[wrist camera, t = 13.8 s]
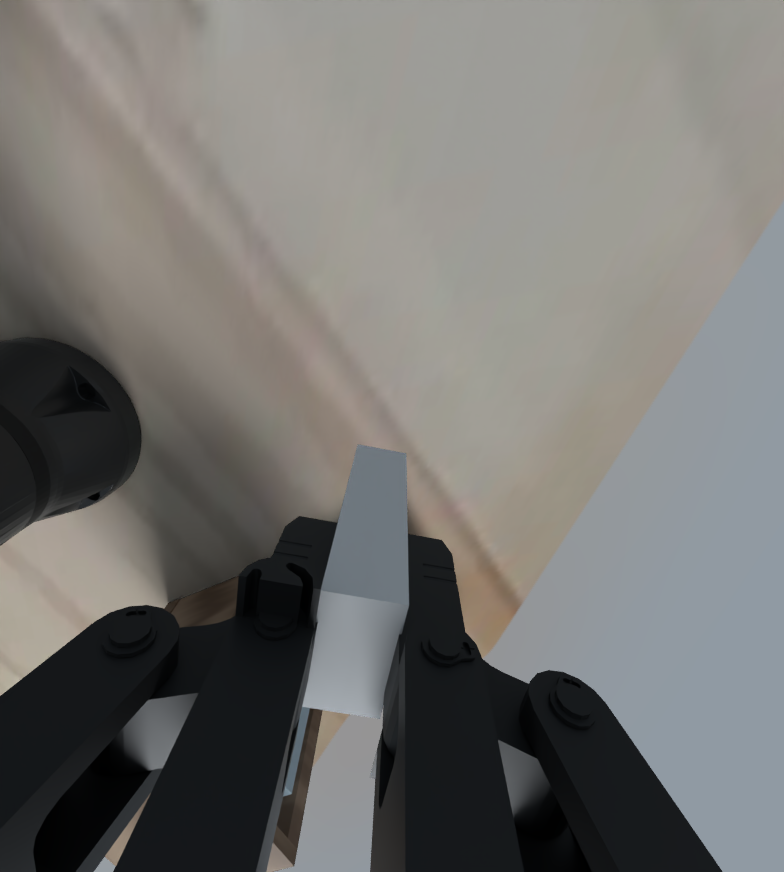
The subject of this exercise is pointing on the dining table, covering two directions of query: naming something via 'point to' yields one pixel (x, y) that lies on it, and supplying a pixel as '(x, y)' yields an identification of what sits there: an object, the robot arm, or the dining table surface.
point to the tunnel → (221, 607)
